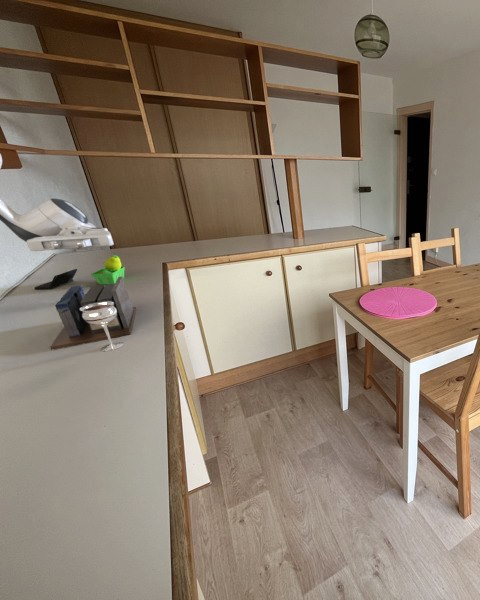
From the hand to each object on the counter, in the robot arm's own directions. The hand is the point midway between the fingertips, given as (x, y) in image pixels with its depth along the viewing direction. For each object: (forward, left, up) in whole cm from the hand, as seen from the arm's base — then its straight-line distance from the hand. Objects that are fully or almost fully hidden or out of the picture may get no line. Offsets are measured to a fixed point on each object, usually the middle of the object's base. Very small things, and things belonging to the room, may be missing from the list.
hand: (68, 245), depth 99 cm
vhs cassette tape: (0, -16, -22) cm, 27 cm away
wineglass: (+9, -35, -23) cm, 43 cm away
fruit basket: (+2, +36, -23) cm, 42 cm away
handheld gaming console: (-16, +41, -23) cm, 49 cm away
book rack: (+4, -18, -22) cm, 29 cm away
